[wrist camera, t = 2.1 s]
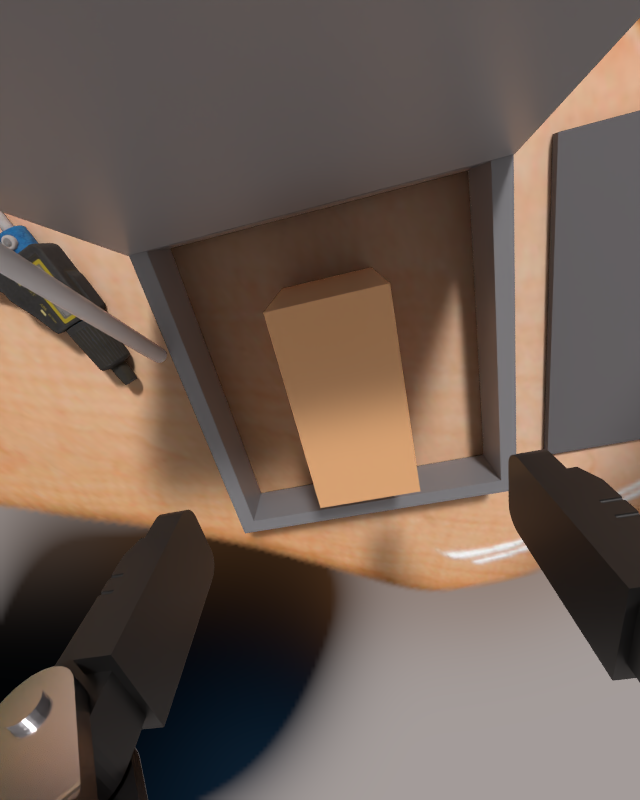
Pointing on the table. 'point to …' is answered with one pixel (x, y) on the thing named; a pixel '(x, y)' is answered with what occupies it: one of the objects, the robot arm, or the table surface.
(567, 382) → the rubber mat
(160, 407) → the table surface
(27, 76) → the case
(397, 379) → the block
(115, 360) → the micrometer
